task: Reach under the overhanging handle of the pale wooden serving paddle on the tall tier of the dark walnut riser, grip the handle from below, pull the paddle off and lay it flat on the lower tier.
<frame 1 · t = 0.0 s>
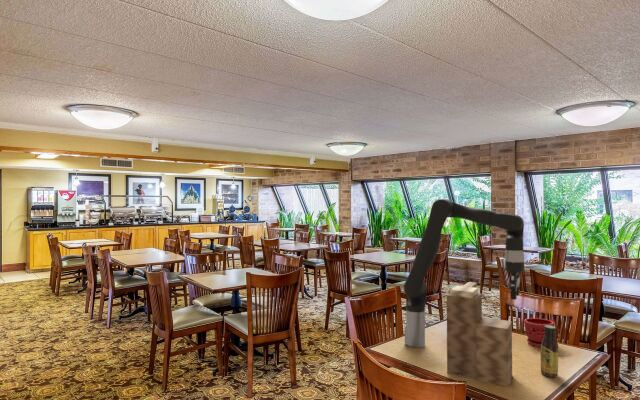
hand: (514, 297, 170), 29 cm above the table, tool pointing down, fingers open, 8 cm apart
sauce bottle: (549, 375, 159), on the table
decorative candle: (456, 334, 210), on the table
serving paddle: (466, 292, 167), point 32 cm above the table, touching walnut riser
plant pot: (539, 345, 194), on the table
walnut riser: (479, 374, 159), on the table
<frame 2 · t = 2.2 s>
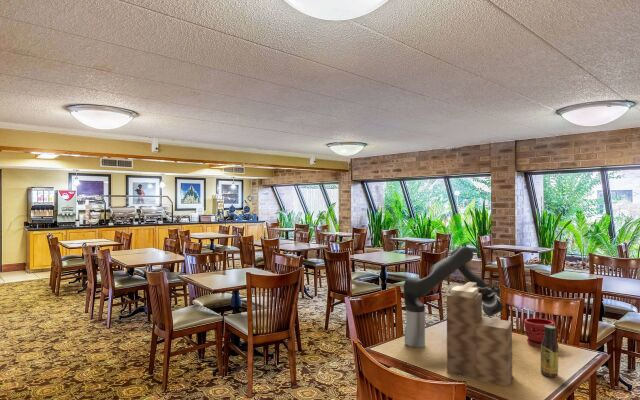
hand: (482, 286, 187), 31 cm above the table, tool pointing upward, fingers open, 8 cm apart
nothing on the table moved.
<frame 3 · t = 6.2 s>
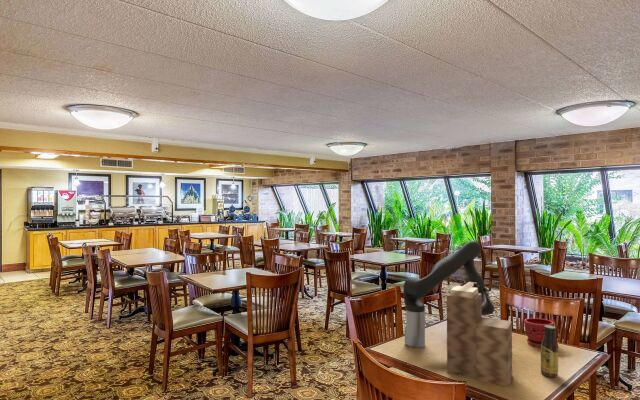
hand: (469, 284, 172), 35 cm above the table, tool pointing upward, fingers closed on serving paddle, 3 cm apart
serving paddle: (466, 292, 167), point 32 cm above the table, touching gripper, walnut riser
everything else where it was.
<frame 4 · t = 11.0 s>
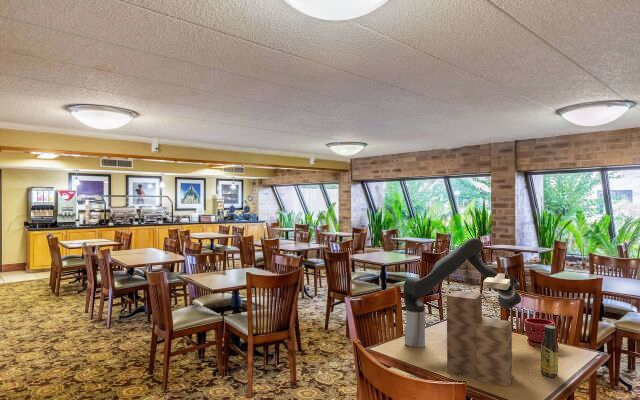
hand: (500, 275, 172), 38 cm above the table, tool pointing upward, fingers closed on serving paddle, 3 cm apart
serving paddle: (498, 284, 167), point 36 cm above the table, touching gripper
everything else where it was.
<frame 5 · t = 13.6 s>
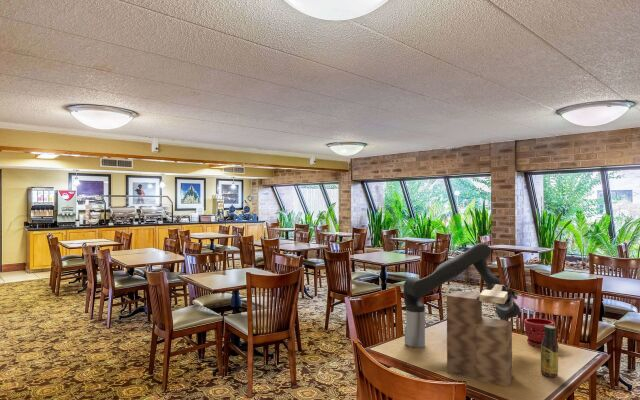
hand: (497, 287, 165), 35 cm above the table, tool pointing upward, fingers closed on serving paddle, 3 cm apart
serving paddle: (495, 296, 161), point 32 cm above the table, touching gripper
everything else where it was.
when the fingers open (26 cm above the table, at t = 15.8 s): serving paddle stays where it is, resting on walnut riser.
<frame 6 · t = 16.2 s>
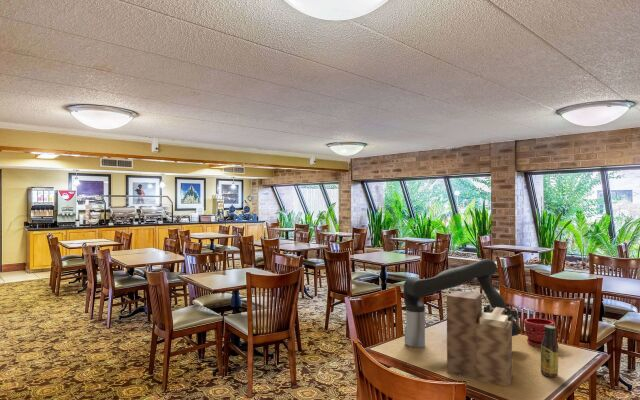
hand: (498, 308, 166), 26 cm above the table, tool pointing upward, fingers open, 7 cm apart
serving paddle: (495, 319, 160), point 22 cm above the table, touching walnut riser
everything else where it was.
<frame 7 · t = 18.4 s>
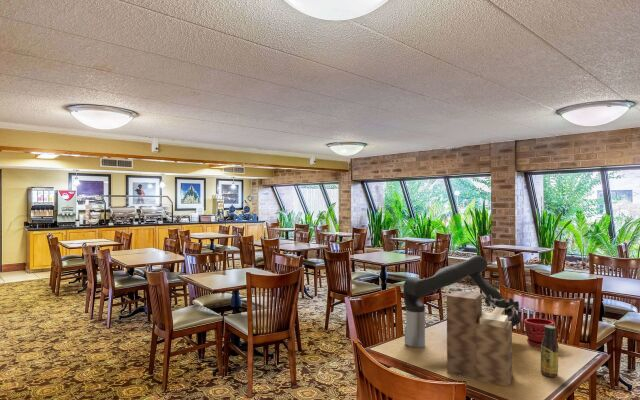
hand: (499, 298, 177), 27 cm above the table, tool pointing upward, fingers open, 8 cm apart
nothing on the table moved.
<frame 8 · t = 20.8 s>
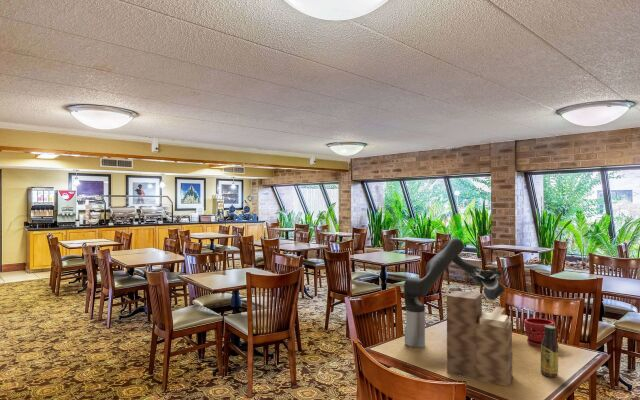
hand: (484, 268, 190), 39 cm above the table, tool pointing upward, fingers open, 8 cm apart
nothing on the table moved.
at the end: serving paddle inside the target area (0.1 cm from its centre), point 22.0 cm above the table; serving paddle tilted 0°; the gripper is holding nothing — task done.
